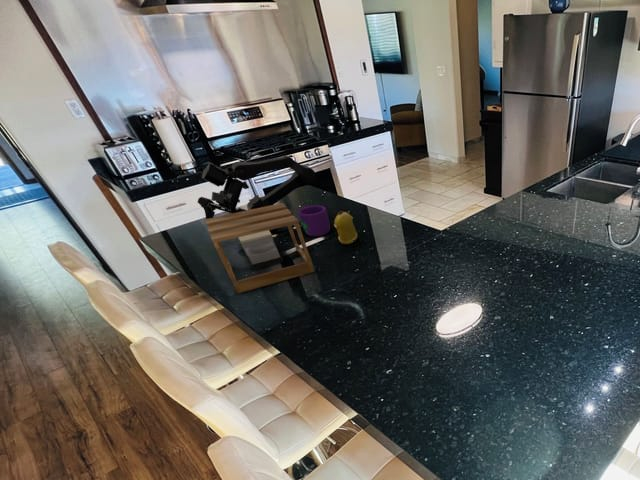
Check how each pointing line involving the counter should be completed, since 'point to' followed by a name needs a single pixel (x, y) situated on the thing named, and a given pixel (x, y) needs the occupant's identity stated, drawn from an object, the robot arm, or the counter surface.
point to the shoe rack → (252, 224)
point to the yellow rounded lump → (345, 228)
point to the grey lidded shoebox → (260, 249)
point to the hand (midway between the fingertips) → (219, 229)
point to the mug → (314, 220)
